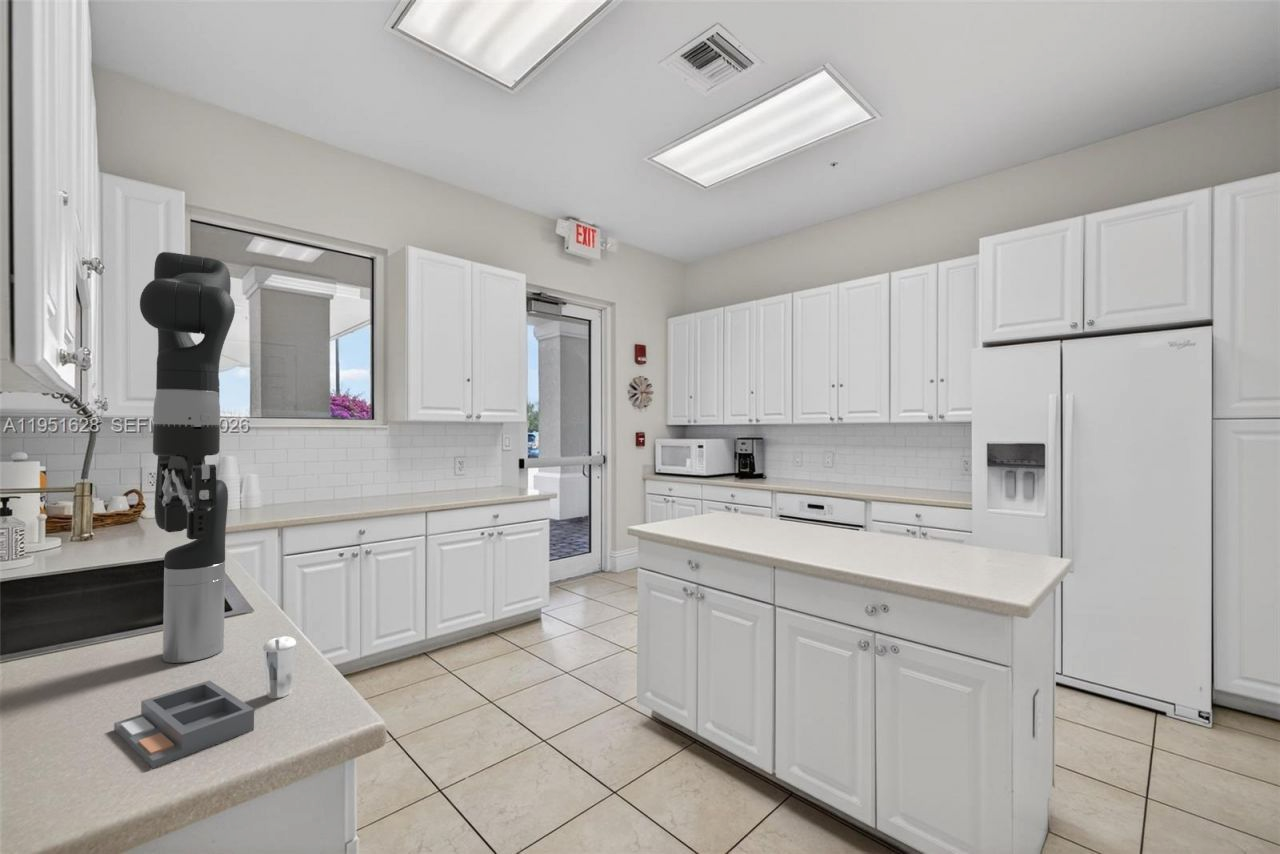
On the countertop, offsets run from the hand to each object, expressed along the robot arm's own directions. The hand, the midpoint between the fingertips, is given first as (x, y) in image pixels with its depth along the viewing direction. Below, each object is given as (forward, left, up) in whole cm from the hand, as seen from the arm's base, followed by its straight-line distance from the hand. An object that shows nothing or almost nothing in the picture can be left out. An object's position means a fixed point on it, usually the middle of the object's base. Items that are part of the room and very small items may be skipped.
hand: (185, 534), depth 82 cm
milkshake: (0, +13, -28) cm, 31 cm away
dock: (0, 0, -28) cm, 28 cm away
